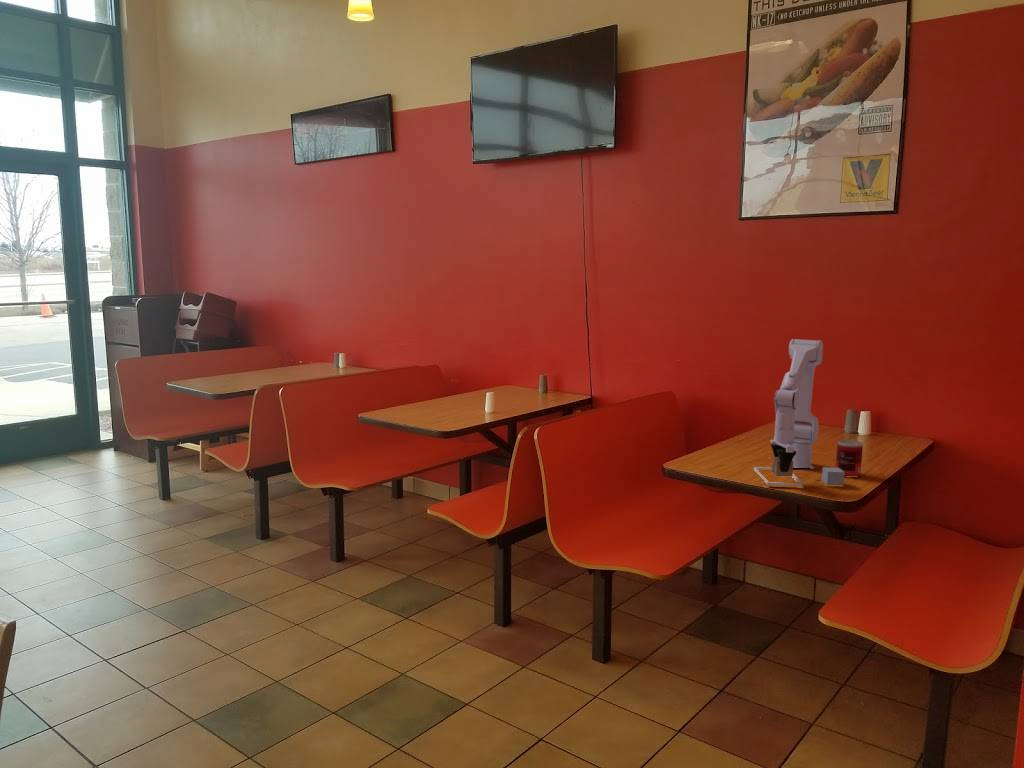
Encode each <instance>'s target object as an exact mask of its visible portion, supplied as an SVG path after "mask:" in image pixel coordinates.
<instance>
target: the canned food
mask: <svg viewBox="0 0 1024 768" xmlns="http://www.w3.org/2000/svg"><path fill="white" fill-rule="evenodd" d="M863 446H864V443H863V442H861V441H857V440H852V439H841V440H838V441H837V445H836V456H835V457H836V459H835V468H840V469H841V470H842V471H844V472H845V473H844V476H859V475H860V476H861V473H862V472H861V471H862V461H863V460H862V459H863V449H864V448H863ZM860 476H859V477H860Z"/></svg>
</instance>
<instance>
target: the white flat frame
mask: <svg viewBox="0 0 1024 768" xmlns="http://www.w3.org/2000/svg"><path fill="white" fill-rule="evenodd" d="M753 470H754V471H755V472H756V473H757V474H758V475H759V476H760V477H761V478H762V479H763V480H764V482H765V483H766V484H767V485H779V486H802V487H803V488H804V485H805V484H804V482H803V481H801V479H800V478H798V476H797V475H795V474H794V473H792V478H794V480H795V481H796V482H797V483H784V482H769V481H768V480H767V479H766V478H765V477H764V476H763V475H762V474H761V473H760V472H759V470H772V466H771V467H768V466H766V467H765V466H753ZM753 470H752V471H753Z"/></svg>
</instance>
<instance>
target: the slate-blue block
mask: <svg viewBox="0 0 1024 768" xmlns="http://www.w3.org/2000/svg"><path fill="white" fill-rule="evenodd" d="M844 473H845V472H844V471H842V470H841V469H840V468H836V467H825V466H823V467H822V473H821V482H822V481H823V482H824V483H825V484H826V485H843V486H844V485H845V484H844V483H845V477H844Z"/></svg>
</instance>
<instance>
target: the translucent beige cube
mask: <svg viewBox="0 0 1024 768" xmlns="http://www.w3.org/2000/svg"><path fill="white" fill-rule="evenodd" d="M771 467H772V473H773V474H774V475H775V476H780V477H792V473H793V472H794V471H793V470H794V469H793V461H791V464H790V467H789V470H788V472H781V470H780V460H779V457H774V456H772V462H771ZM793 474H794V473H793Z"/></svg>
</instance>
